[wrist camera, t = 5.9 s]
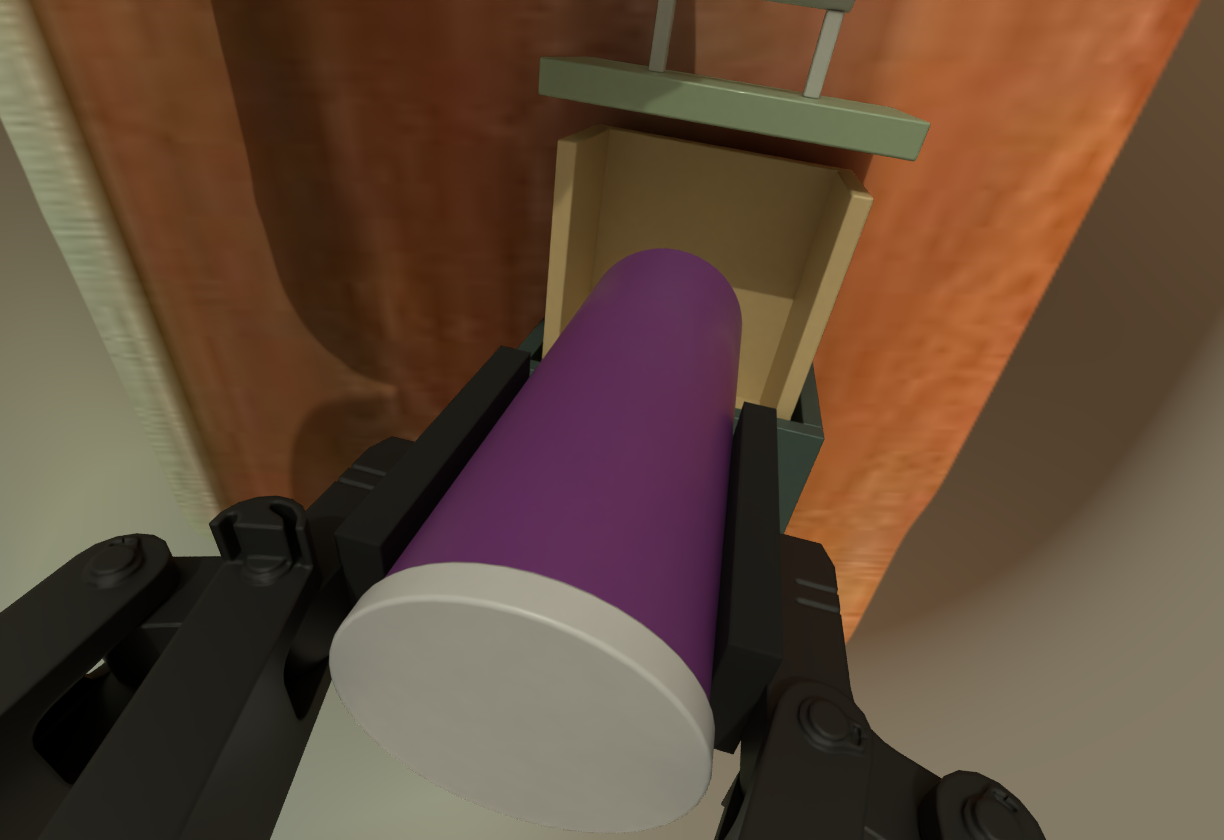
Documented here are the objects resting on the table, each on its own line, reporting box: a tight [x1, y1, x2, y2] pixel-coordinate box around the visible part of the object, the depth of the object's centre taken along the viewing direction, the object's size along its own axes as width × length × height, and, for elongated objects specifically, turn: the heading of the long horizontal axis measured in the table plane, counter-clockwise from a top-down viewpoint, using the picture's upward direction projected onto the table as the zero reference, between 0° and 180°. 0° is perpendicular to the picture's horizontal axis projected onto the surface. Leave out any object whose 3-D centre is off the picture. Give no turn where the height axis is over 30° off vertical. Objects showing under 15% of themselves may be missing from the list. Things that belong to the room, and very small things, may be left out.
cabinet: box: [517, 317, 824, 534], centre depth 34 cm, size 17×15×9 cm
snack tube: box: [329, 248, 742, 833], centre depth 13 cm, size 5×5×14 cm
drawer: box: [538, 0, 930, 421], centre depth 25 cm, size 20×14×7 cm
